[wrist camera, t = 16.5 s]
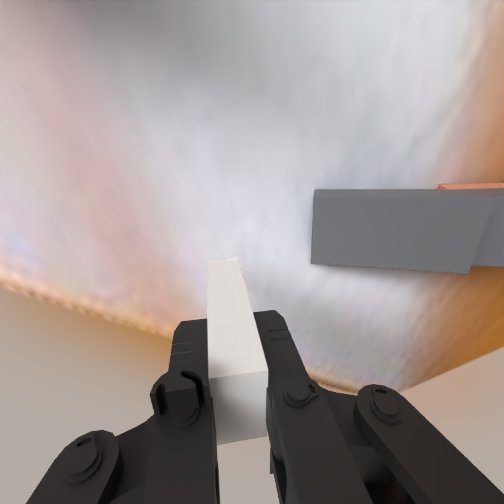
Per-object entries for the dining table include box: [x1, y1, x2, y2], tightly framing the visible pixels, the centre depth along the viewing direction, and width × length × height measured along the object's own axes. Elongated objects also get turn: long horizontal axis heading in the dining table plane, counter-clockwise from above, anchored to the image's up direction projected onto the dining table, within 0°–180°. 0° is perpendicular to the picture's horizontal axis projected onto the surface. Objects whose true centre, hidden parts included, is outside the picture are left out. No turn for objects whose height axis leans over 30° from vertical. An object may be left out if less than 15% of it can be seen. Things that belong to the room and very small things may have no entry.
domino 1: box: [311, 189, 495, 274], centre depth 18 cm, size 2×5×10 cm
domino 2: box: [471, 188, 504, 267], centre depth 19 cm, size 2×5×10 cm
